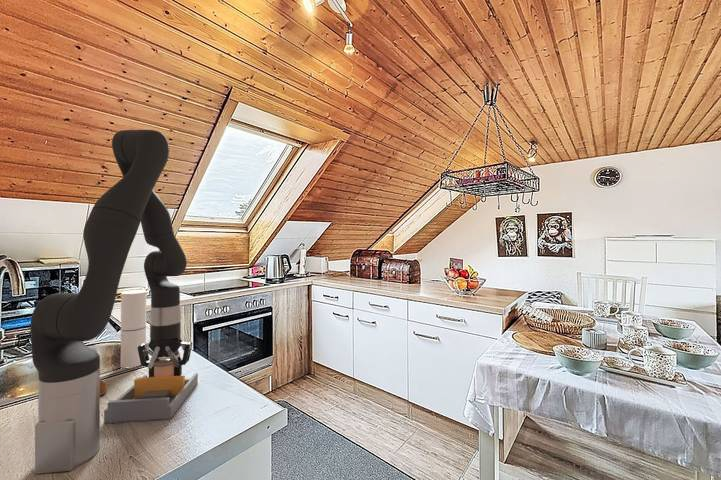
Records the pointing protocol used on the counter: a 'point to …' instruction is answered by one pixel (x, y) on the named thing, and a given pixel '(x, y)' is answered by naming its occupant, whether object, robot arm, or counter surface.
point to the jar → (163, 367)
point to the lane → (147, 405)
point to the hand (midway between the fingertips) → (165, 379)
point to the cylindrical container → (132, 326)
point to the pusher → (158, 386)
